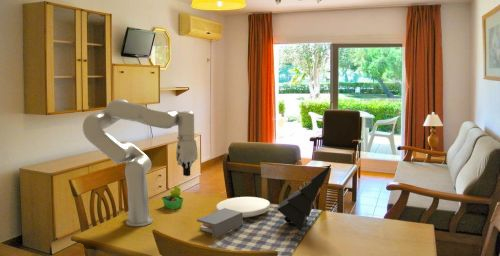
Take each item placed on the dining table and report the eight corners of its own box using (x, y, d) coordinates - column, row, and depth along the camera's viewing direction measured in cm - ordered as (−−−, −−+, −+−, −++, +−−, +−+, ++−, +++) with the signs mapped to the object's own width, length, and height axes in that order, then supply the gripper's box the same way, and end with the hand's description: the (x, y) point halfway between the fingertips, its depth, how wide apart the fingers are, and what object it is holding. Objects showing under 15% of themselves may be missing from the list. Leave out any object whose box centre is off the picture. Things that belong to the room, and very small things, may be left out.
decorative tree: (297, 236, 196) (343, 178, 186) (271, 216, 198) (315, 158, 188) (302, 224, 210) (345, 170, 200) (278, 206, 212) (319, 151, 202)
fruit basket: (161, 206, 232) (160, 186, 230) (174, 202, 238) (174, 183, 236) (172, 211, 223) (171, 190, 222) (186, 207, 229) (185, 187, 228)
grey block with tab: (194, 232, 194) (193, 218, 193) (221, 220, 209) (221, 207, 208) (215, 238, 186) (215, 224, 185) (242, 225, 201) (242, 212, 200)
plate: (210, 211, 208) (219, 195, 234) (212, 224, 209) (221, 207, 235) (267, 206, 205) (270, 191, 231) (269, 219, 206) (271, 202, 232)
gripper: (180, 140, 193) (180, 179, 195) (203, 136, 204) (203, 173, 207) (168, 138, 197) (169, 177, 200) (191, 135, 209) (192, 171, 211)
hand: (186, 175), depth 203 cm, fingers closed
